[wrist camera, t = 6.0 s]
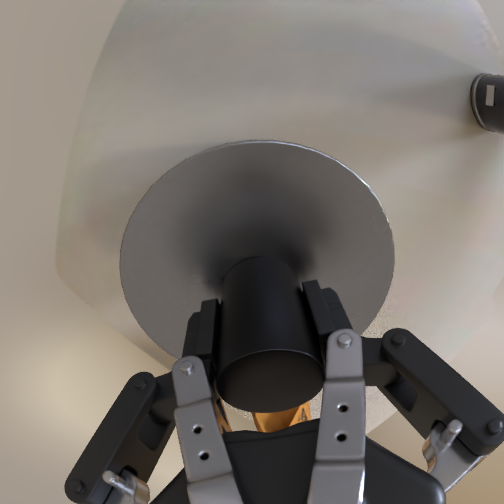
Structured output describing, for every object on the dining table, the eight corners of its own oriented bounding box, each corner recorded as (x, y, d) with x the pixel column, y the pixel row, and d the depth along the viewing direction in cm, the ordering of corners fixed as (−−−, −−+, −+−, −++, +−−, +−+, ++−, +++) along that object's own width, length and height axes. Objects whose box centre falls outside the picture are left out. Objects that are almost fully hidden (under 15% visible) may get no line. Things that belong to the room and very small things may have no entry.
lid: (380, 119, 12) (483, 145, 6) (379, 340, 19) (416, 421, 13) (88, 182, 13) (-1, 247, 7) (178, 376, 20) (166, 463, 14)
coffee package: (299, 327, 46) (329, 453, 27) (301, 372, 52) (323, 478, 33) (237, 336, 46) (242, 465, 27) (249, 380, 52) (256, 488, 33)
